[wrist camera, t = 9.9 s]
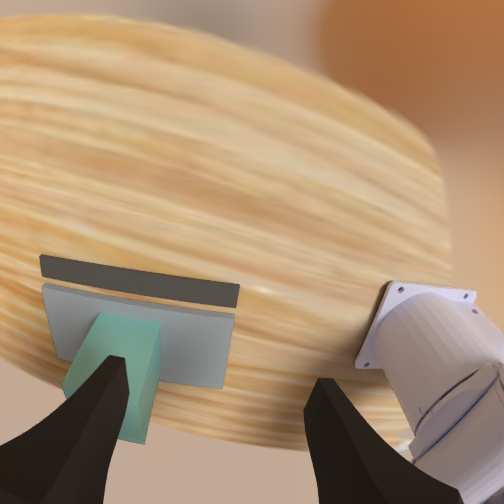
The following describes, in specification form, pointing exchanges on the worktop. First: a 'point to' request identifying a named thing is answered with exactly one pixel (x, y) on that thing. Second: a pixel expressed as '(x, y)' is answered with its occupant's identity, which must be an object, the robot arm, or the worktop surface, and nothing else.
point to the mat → (171, 318)
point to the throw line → (140, 282)
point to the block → (137, 364)
